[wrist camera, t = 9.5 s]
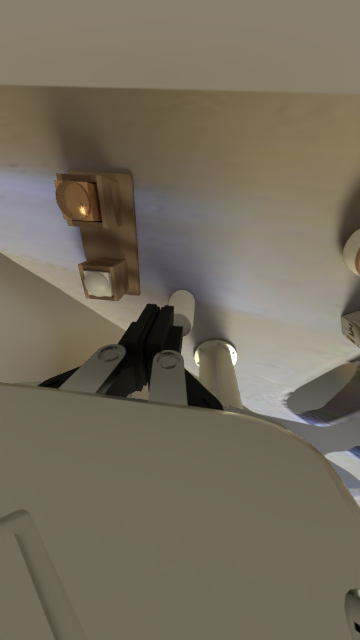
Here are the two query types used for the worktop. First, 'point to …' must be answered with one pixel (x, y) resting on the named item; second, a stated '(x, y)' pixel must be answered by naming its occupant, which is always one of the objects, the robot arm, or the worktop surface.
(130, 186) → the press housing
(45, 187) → the worktop surface
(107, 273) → the pale plunger
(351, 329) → the coffee box
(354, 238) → the lidded jar
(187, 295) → the can
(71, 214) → the copper plunger
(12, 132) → the worktop surface
